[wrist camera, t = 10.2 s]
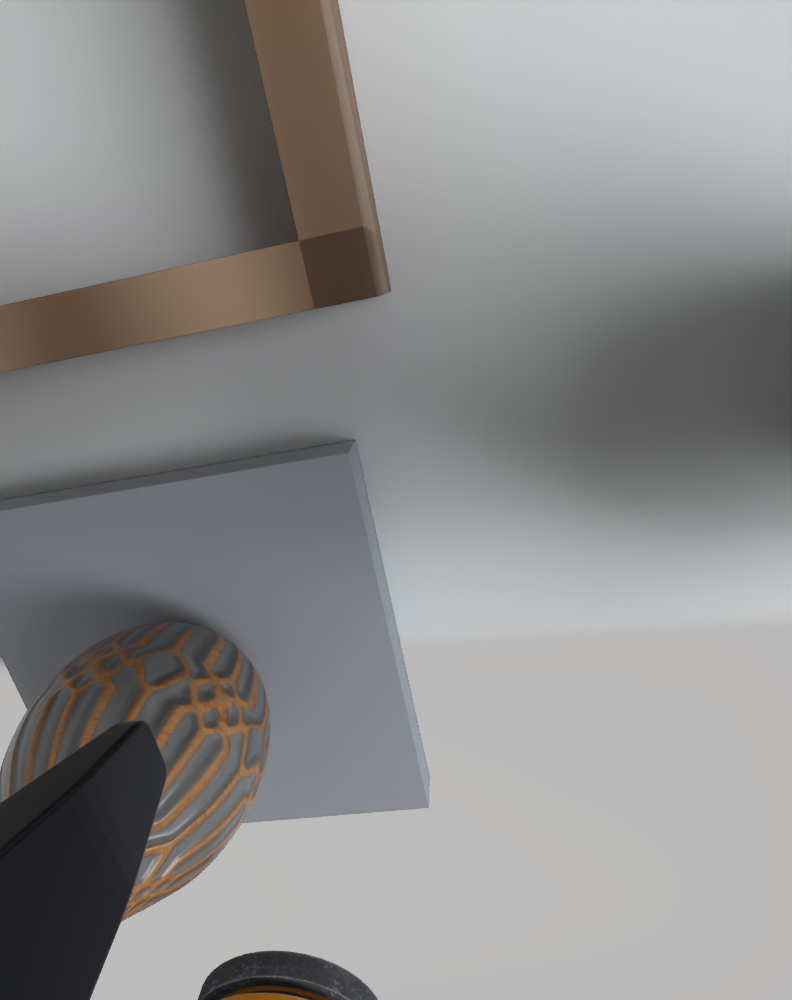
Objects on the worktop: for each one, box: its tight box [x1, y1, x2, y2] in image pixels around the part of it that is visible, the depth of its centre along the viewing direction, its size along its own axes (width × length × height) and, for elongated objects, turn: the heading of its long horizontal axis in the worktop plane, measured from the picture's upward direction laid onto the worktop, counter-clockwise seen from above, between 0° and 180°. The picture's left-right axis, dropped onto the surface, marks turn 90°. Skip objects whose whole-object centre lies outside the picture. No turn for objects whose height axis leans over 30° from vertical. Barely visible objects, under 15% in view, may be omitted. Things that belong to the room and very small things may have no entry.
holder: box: [0, 0, 391, 373], centre depth 14 cm, size 15×14×4 cm
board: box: [0, 440, 430, 823], centre depth 22 cm, size 14×14×2 cm
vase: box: [0, 621, 270, 922], centre depth 17 cm, size 7×7×9 cm
